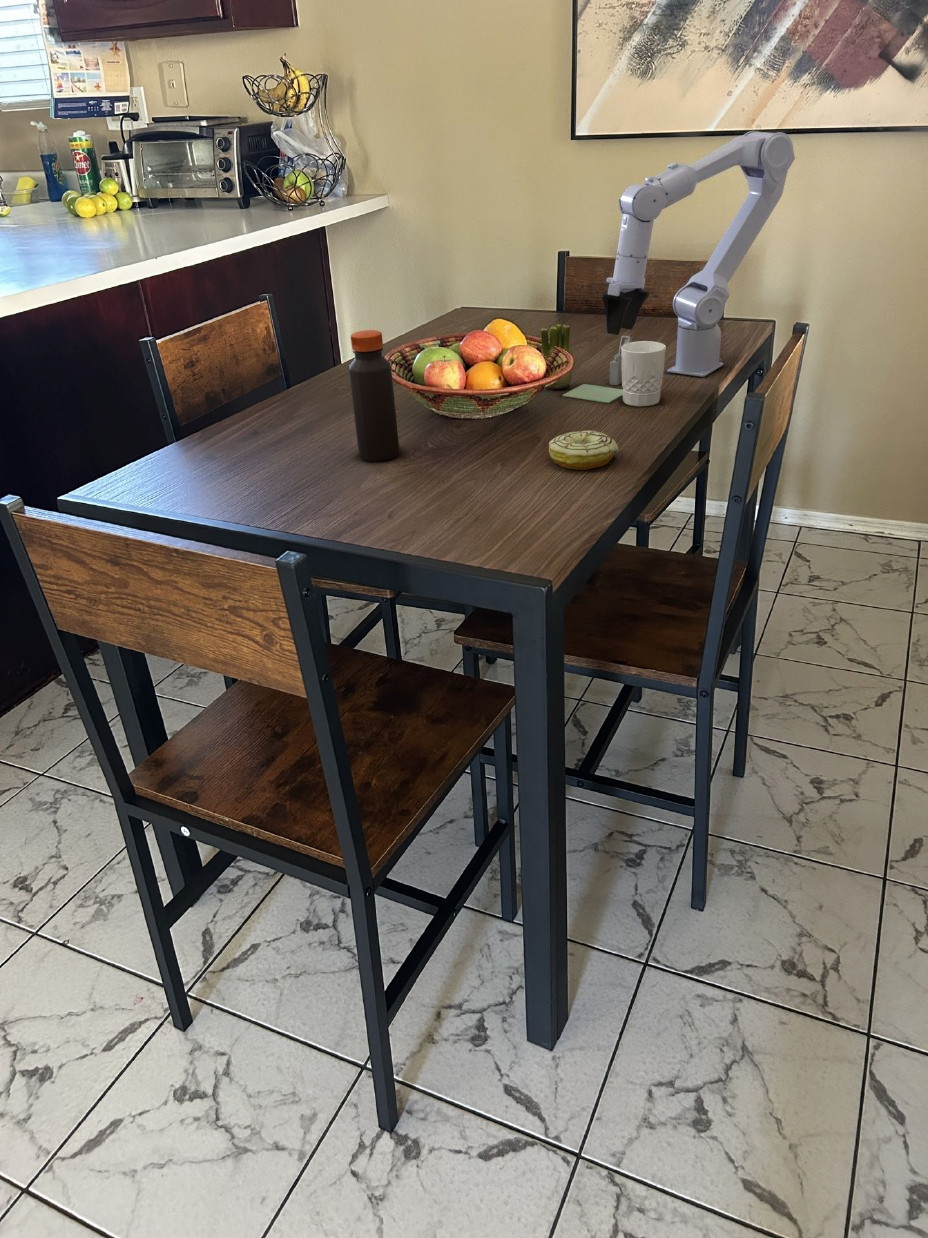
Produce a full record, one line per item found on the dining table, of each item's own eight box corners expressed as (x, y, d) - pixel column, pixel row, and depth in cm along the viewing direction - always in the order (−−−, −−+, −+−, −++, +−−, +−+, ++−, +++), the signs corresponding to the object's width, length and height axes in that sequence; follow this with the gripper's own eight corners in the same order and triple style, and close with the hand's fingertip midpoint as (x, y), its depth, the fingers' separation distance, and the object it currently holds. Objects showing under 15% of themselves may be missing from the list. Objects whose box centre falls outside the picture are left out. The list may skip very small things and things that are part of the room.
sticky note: (583, 384, 183) (583, 383, 183) (629, 391, 177) (629, 390, 177) (562, 395, 178) (562, 394, 177) (608, 403, 172) (608, 402, 172)
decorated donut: (629, 456, 148) (630, 434, 146) (589, 478, 142) (590, 454, 140) (577, 444, 155) (577, 422, 153) (536, 463, 148) (535, 440, 146)
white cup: (661, 393, 175) (664, 340, 170) (664, 407, 168) (667, 351, 163) (618, 395, 176) (620, 341, 171) (620, 408, 169) (622, 353, 164)
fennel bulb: (540, 391, 181) (539, 328, 175) (543, 384, 185) (542, 322, 179) (570, 391, 180) (570, 328, 174) (572, 383, 184) (572, 321, 178)
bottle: (382, 445, 160) (369, 326, 150) (408, 453, 156) (396, 331, 145) (351, 456, 156) (335, 335, 146) (376, 465, 152) (362, 341, 141)
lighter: (617, 385, 181) (618, 343, 177) (609, 384, 182) (610, 342, 178) (630, 375, 187) (632, 334, 182) (622, 374, 187) (623, 334, 183)
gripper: (625, 250, 179) (613, 322, 186) (597, 255, 168) (586, 332, 174) (660, 255, 177) (647, 329, 183) (634, 260, 165) (621, 338, 171)
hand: (619, 331), depth 178 cm, fingers open, 7 cm apart
